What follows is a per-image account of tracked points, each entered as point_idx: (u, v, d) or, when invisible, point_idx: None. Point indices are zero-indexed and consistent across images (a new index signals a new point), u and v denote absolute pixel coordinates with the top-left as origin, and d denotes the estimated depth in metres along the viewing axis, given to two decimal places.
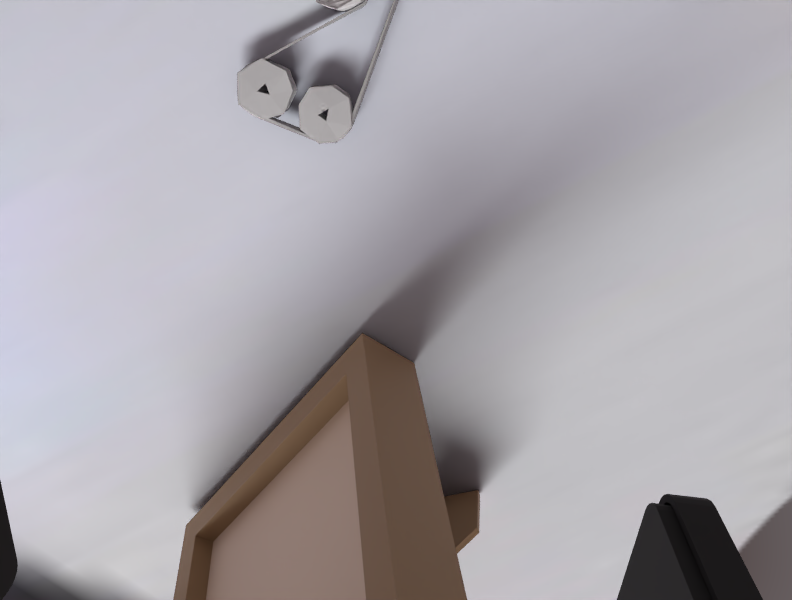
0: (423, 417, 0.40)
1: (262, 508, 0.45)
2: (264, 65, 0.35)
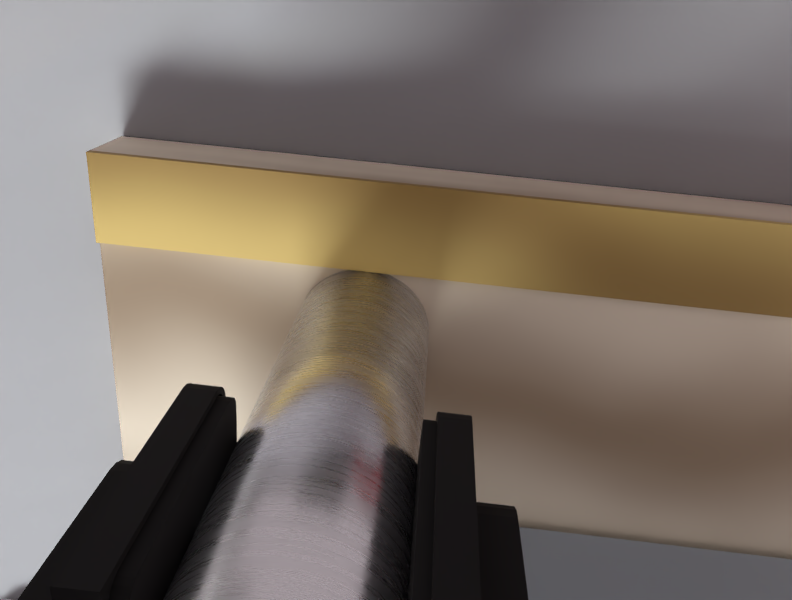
0: None
1: None
2: None
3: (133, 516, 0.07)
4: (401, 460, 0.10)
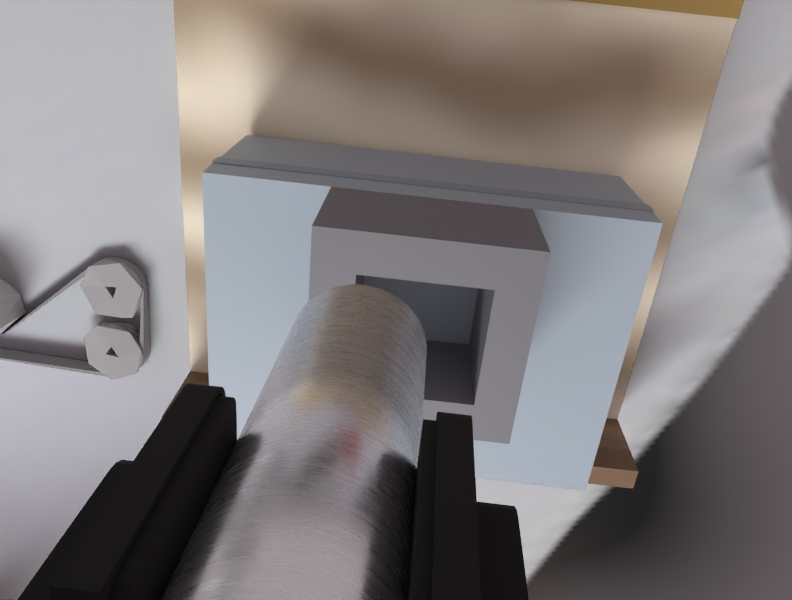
0: None
1: None
2: None
3: (133, 516, 0.07)
4: (396, 495, 0.09)
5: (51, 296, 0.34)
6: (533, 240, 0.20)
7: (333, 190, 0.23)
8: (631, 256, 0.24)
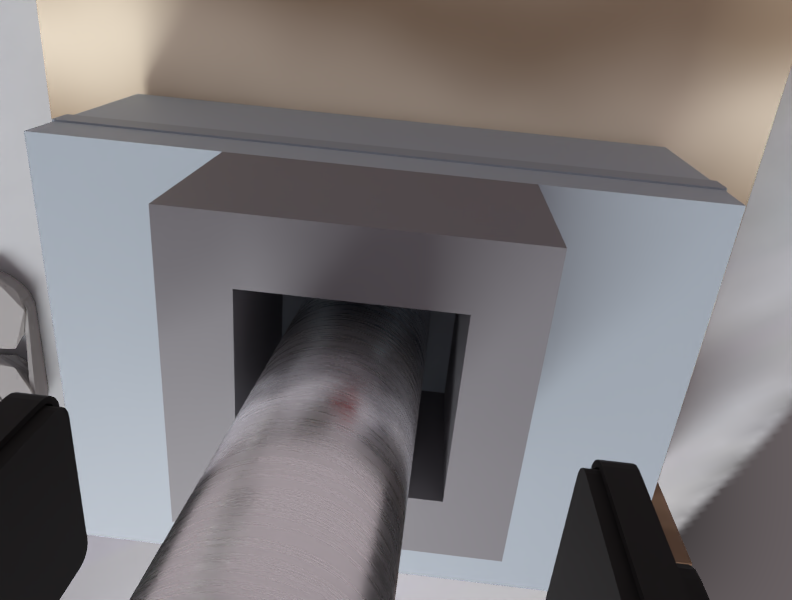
0: None
1: None
2: None
3: None
4: (397, 415, 0.10)
5: None
6: (537, 229, 0.12)
7: (223, 156, 0.14)
8: (694, 259, 0.15)
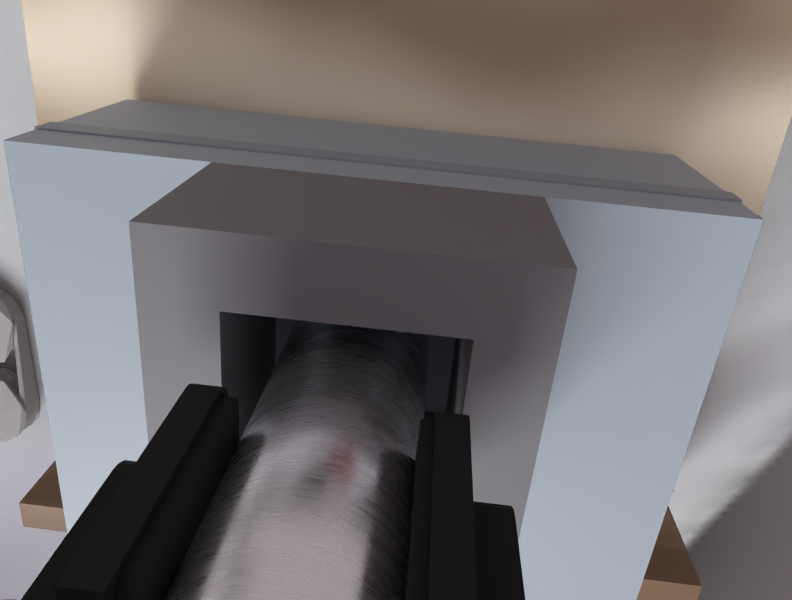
0: None
1: None
2: None
3: (136, 516, 0.07)
4: (398, 489, 0.09)
5: None
6: (545, 247, 0.11)
7: (212, 167, 0.14)
8: (708, 274, 0.14)
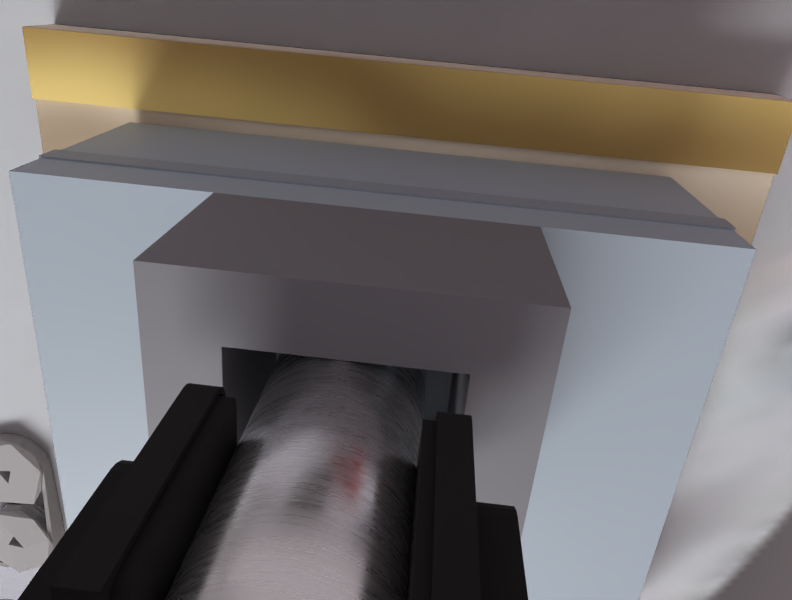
0: None
1: None
2: None
3: (133, 516, 0.07)
4: (396, 511, 0.09)
5: None
6: (540, 283, 0.11)
7: (213, 199, 0.14)
8: (702, 302, 0.15)
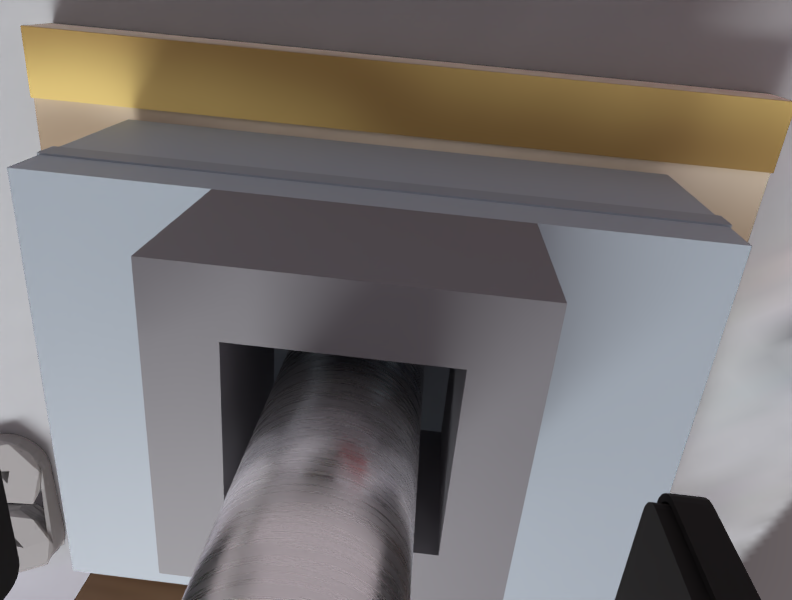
0: None
1: None
2: None
3: None
4: (397, 482, 0.10)
5: None
6: (536, 279, 0.11)
7: (212, 195, 0.14)
8: (698, 299, 0.15)
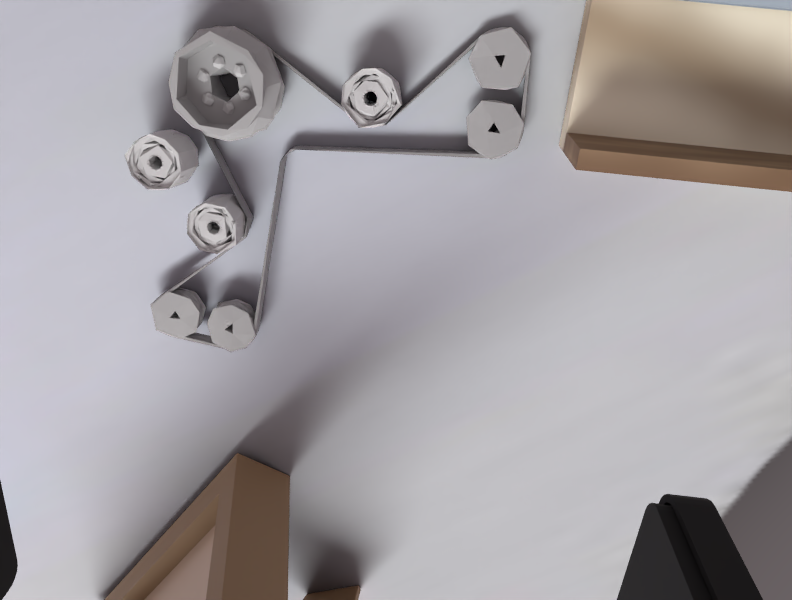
0: (285, 537, 0.43)
1: None
2: (171, 296, 0.41)
3: None
4: None
5: (437, 76, 0.35)
6: None
7: None
8: None
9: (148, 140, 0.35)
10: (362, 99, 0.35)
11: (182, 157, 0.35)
